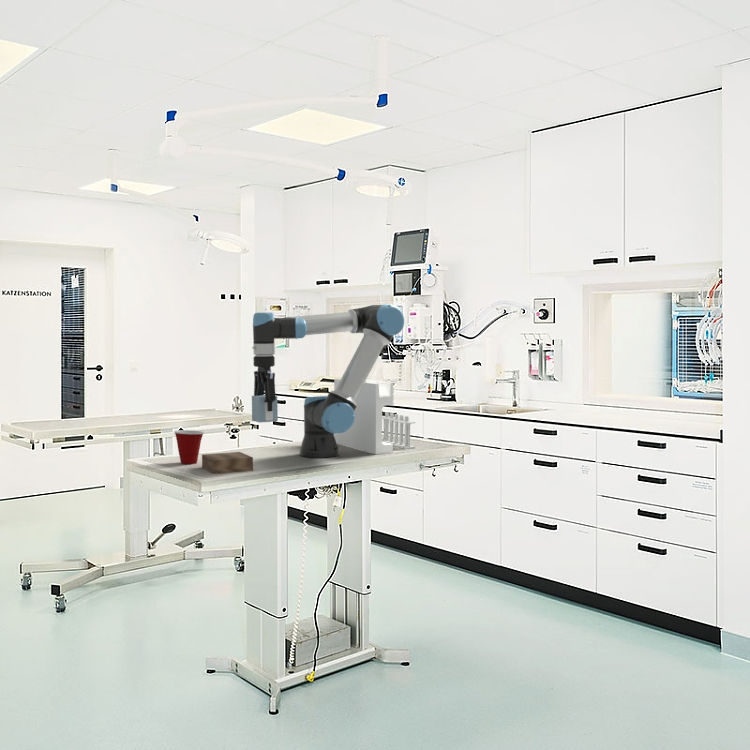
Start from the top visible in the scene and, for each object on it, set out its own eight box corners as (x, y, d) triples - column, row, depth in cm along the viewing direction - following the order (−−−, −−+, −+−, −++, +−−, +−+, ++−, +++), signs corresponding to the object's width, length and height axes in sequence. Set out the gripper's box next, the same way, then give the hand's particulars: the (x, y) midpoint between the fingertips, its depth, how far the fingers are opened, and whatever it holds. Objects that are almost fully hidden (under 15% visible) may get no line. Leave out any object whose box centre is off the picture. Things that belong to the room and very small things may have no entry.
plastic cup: (210, 463, 295) (209, 430, 295) (183, 466, 288) (182, 433, 287) (195, 459, 303) (195, 427, 303) (169, 462, 296) (168, 430, 296)
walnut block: (239, 465, 294) (239, 451, 294) (253, 471, 282) (252, 457, 281) (202, 468, 287) (202, 454, 287) (214, 474, 275) (213, 460, 275)
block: (334, 443, 348) (334, 378, 346) (350, 441, 352) (350, 377, 350) (375, 454, 318) (376, 383, 316) (393, 453, 322) (393, 383, 320)
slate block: (270, 419, 295) (269, 394, 295) (277, 421, 289) (277, 396, 289) (252, 420, 292) (251, 395, 291) (259, 422, 286) (259, 397, 285)
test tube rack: (378, 441, 354) (378, 411, 354) (387, 440, 356) (387, 411, 356) (405, 449, 332) (406, 417, 331) (415, 448, 334) (415, 417, 333)
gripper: (244, 354, 296) (244, 417, 297) (265, 356, 278) (265, 422, 280) (263, 354, 299) (263, 415, 301) (284, 356, 282) (285, 421, 284)
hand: (264, 419), depth 290 cm, fingers closed on slate block, 7 cm apart
